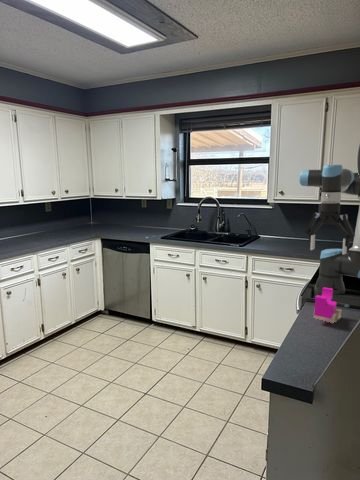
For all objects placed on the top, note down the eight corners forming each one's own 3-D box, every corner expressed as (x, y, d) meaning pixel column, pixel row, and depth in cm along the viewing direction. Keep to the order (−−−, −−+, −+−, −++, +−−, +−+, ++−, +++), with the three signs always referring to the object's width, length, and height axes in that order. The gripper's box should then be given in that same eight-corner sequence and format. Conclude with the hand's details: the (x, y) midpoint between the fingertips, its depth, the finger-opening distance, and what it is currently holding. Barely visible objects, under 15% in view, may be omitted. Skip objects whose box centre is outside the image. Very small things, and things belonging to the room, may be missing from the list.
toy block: (331, 318, 135) (332, 300, 133) (314, 315, 138) (315, 297, 137) (338, 306, 147) (339, 289, 146) (322, 303, 150) (323, 287, 149)
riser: (321, 315, 150) (322, 304, 149) (340, 321, 145) (341, 309, 144) (313, 321, 145) (313, 309, 144) (332, 326, 139) (333, 314, 138)
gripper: (298, 201, 152) (296, 249, 157) (359, 204, 135) (355, 257, 140) (305, 200, 158) (303, 246, 162) (365, 202, 141) (361, 254, 145)
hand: (327, 251), depth 151 cm, fingers open, 13 cm apart
